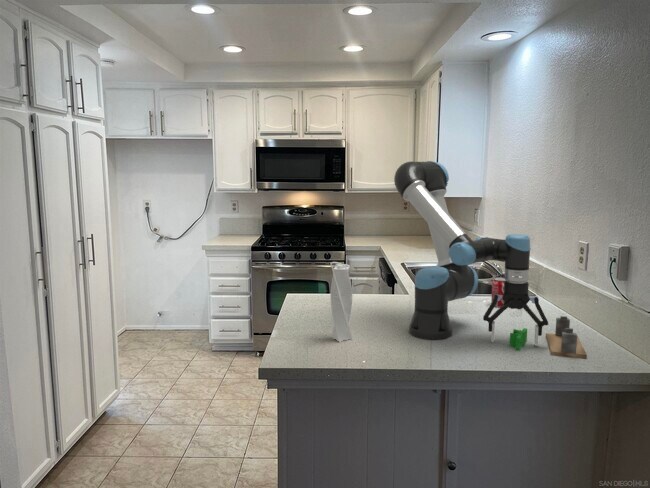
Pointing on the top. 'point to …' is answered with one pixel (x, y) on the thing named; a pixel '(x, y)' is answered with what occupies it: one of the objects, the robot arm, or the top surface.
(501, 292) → the soda can
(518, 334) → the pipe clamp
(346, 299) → the skyscraper
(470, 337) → the top surface
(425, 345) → the top surface
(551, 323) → the top surface
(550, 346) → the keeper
